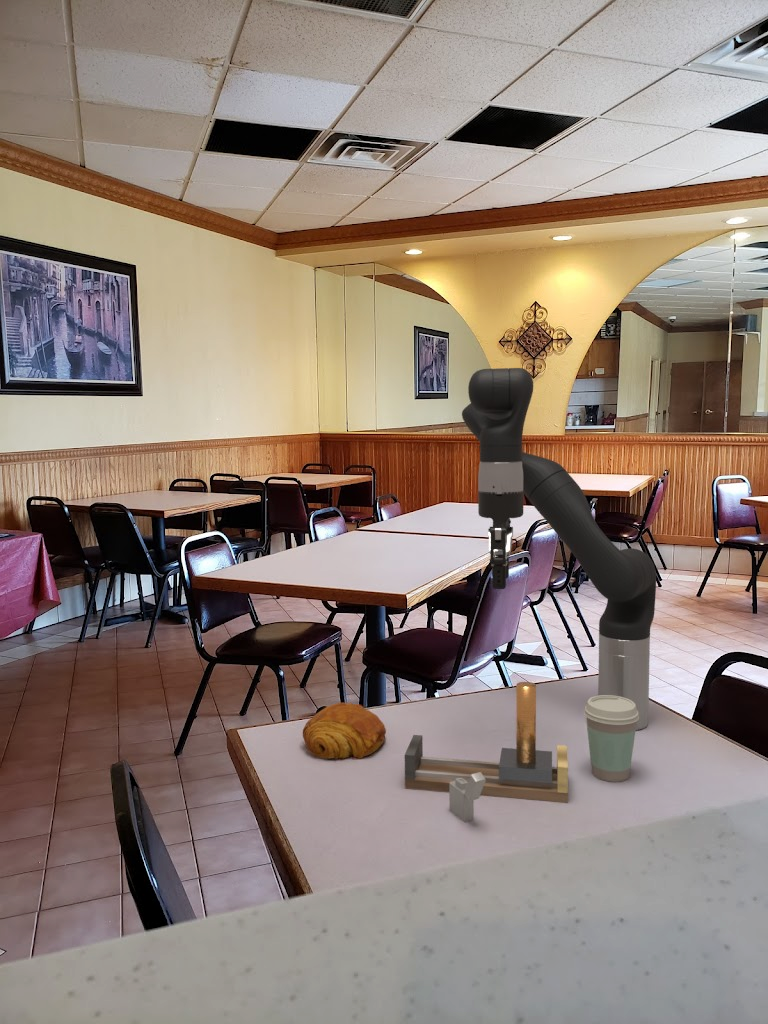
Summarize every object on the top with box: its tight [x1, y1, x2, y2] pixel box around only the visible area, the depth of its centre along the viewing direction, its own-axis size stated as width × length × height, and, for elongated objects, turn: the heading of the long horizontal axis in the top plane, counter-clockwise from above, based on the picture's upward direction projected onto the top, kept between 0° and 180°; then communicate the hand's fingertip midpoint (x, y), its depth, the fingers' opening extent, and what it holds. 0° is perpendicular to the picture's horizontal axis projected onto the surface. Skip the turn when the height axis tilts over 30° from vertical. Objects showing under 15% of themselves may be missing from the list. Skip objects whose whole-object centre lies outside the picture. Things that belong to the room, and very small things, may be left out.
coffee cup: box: [583, 695, 639, 783], centre depth 122 cm, size 8×8×12 cm
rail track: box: [404, 734, 569, 804], centre depth 119 cm, size 8×25×6 cm, turn 78°
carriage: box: [498, 681, 553, 783], centre depth 117 cm, size 7×8×14 cm
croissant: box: [302, 702, 387, 760], centre depth 135 cm, size 14×16×8 cm
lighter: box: [448, 772, 486, 823], centre depth 108 cm, size 7×2×8 cm, turn 27°
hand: (500, 583), depth 128 cm, fingers open, 8 cm apart
